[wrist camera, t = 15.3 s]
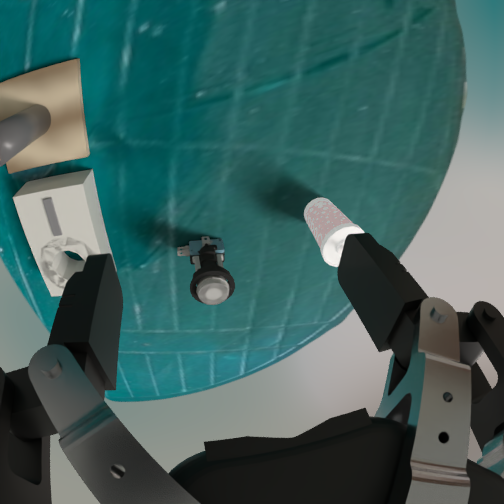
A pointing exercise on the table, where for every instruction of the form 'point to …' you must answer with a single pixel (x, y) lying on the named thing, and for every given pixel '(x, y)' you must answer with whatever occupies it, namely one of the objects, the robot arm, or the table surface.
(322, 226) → the beverage cup
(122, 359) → the table surface
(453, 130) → the table surface
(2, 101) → the board
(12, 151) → the dark grey cylinder
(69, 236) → the light grey boxy piece
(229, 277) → the push button
